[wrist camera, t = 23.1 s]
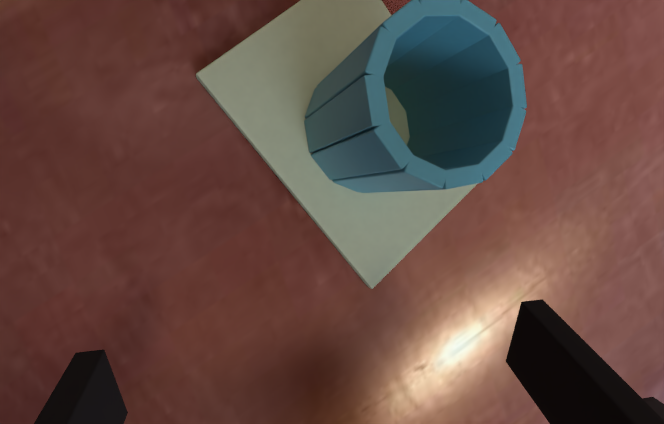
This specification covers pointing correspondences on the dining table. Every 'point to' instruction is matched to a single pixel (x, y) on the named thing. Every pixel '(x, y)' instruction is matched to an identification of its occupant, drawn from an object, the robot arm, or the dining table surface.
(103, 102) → the dining table surface
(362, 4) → the mat
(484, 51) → the ring
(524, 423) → the dining table surface
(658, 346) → the dining table surface
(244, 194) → the dining table surface
